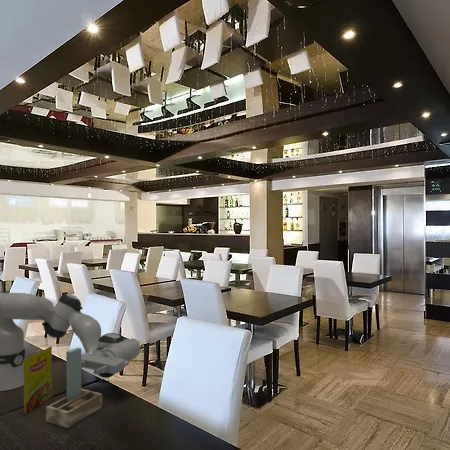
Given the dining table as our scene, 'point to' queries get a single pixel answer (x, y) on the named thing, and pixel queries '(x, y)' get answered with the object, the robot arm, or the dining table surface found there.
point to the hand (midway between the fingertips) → (85, 370)
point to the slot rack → (65, 418)
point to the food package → (37, 379)
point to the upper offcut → (76, 404)
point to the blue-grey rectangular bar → (73, 373)
